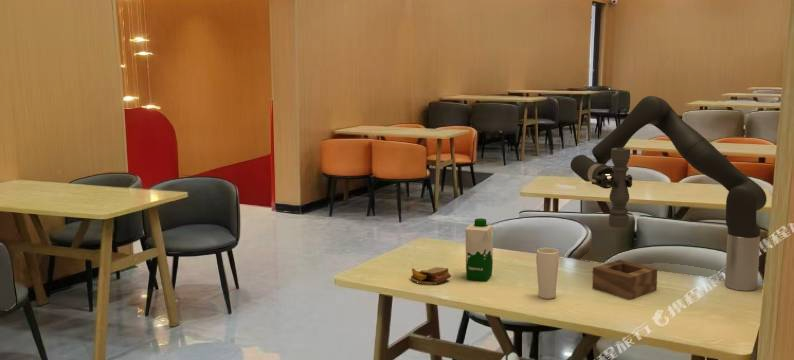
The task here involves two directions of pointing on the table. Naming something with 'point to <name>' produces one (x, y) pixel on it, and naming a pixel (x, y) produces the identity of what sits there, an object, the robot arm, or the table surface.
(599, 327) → the table surface
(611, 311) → the table surface
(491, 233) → the milk carton
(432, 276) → the toy sandwich meal
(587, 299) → the table surface
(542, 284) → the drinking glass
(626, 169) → the candle holder
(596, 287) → the bore block
